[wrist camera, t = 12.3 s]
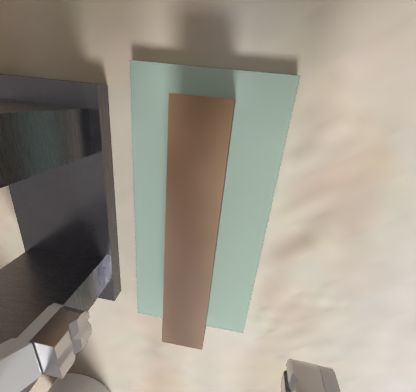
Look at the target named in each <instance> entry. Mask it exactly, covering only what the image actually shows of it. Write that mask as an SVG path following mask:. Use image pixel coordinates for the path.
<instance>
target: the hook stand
mask: <svg viewBox="0 0 416 392" xmlns="http://www.w3.org/2000/svg"><path fill="white" fill-rule="evenodd" d="M7 185H9V189H10V193H11V197H12V201H13V205H14V209H15V213H16V217H17V221H18V225H19V229H20V232H21V236H22V240H23V244H24V248H25V253H23V254H22V255H20V256H19V257H18V258H16V259H15V260H13V261H12V262H10V263H9V264H8V265H6V266H5V267H3V268H2V269H0V344H2V343H4V342H5V341H7V340H9V339H11V338H17V337H18V336H19V335H20V334H21V333H22V332H23V331H24V330H25V329H26V328H27V327H28V326H29V325H30V324H31V323H32V322H33V321H34V320H35V319H36V318H37V317H38V316H39V315H40V314H41V313H42V312H43V311H44V310H45V309H46V308H47V307H48V306H49V305H51V304H53V303H56V304H60V305H65V306H68V307H72V308H76V309H80V310H84V311H88V310H89V309H90V307H91V306H92V305H93V303H94V302H95V301H96V299H97V298H102V299H108V300H113V301H115V299H116V298H117V296H118V295H119V293H120V292H121V286H120V271H119V256H118V241H117V226H116V211H115V196H114V181H113V166H112V151H111V136H110V121H109V106H108V91H107V85H102V84H92V83H82V82H73V81H63V80H53V79H43V78H34V77H24V76H14V75H5V74H0V188H2V187H5V186H7ZM38 379H39V378H38ZM38 379H37V380H38ZM37 380H35V381H34V382H33V383H31V384H30V385H29V386H27V387H26V388H24V389H23V390H22V391H20V392H29V391H30V390H31V388H32V387H33V385H34V384H35V383H36V381H37Z"/></svg>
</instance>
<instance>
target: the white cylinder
mask: <svg viewBox="0 0 416 392" xmlns="http://www.w3.org/2000/svg"><path fill="white" fill-rule="evenodd" d="M48 392H110V391H109V389H108V388H107V387H106V386H104V385H103V384H102V383H100V382H99V381H97V380H95V379H93V378H91V377H89V376H86V375H82V374H77V373H66V375H65V376H64V378H63V379H62V378H58V377H57V379H56V380H55V382H54V383H53V385H52V386H51V388H50V389H49V391H48Z"/></svg>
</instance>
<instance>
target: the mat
mask: <svg viewBox="0 0 416 392" xmlns="http://www.w3.org/2000/svg"><path fill="white" fill-rule="evenodd" d="M130 79H131V111H132V143H133V176H134V208H135V241H136V273H137V305H138V313H140V314H146V315H151V316H156V317H161V318H163V287H164V250H165V213H166V176H167V140H168V103H169V93H177V94H187V95H197V96H206V97H216V98H226V99H235V100H236V102H235V110H234V118H233V125H232V133H231V140H230V148H229V156H228V163H227V171H226V179H225V186H224V194H223V201H222V209H221V217H220V224H219V232H218V240H217V247H216V255H215V262H214V270H213V278H212V285H211V293H210V301H209V308H208V316H207V322H206V326H209V327H214V328H219V329H225V330H230V331H235V332H240V333H243V331H244V327H245V322H246V318H247V313H248V309H249V304H250V300H251V295H252V291H253V286H254V282H255V277H256V273H257V268H258V264H259V259H260V255H261V250H262V246H263V241H264V237H265V232H266V228H267V223H268V219H269V214H270V210H271V205H272V201H273V196H274V192H275V187H276V183H277V178H278V174H279V169H280V165H281V160H282V156H283V151H284V147H285V142H286V138H287V133H288V129H289V124H290V120H291V115H292V111H293V106H294V102H295V97H296V93H297V88H298V84H299V79H300V76H298V75H287V74H276V73H265V72H254V71H243V70H233V69H222V68H211V67H200V66H189V65H178V64H167V63H157V62H146V61H135V60H130Z"/></svg>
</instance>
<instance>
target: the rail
mask: <svg viewBox="0 0 416 392" xmlns="http://www.w3.org/2000/svg"><path fill="white" fill-rule="evenodd" d="M235 102H236V100H235V99H226V98H216V97H206V96H197V95H187V94H177V93H169V103H168V140H167V176H166V213H165V250H164V287H163V323H162V342H166V343H171V344H176V345H182V346H187V347H192V348H197V349H202V347H203V341H204V334H205V328H206V322H207V316H208V308H209V301H210V293H211V285H212V278H213V270H214V262H215V255H216V247H217V240H218V232H219V224H220V217H221V209H222V201H223V194H224V186H225V179H226V171H227V163H228V156H229V148H230V140H231V133H232V125H233V118H234V110H235Z"/></svg>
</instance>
